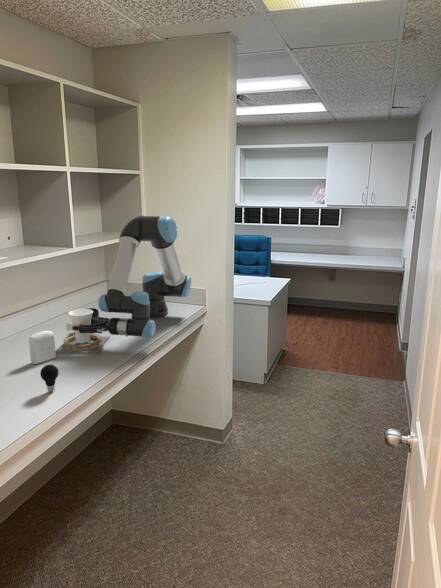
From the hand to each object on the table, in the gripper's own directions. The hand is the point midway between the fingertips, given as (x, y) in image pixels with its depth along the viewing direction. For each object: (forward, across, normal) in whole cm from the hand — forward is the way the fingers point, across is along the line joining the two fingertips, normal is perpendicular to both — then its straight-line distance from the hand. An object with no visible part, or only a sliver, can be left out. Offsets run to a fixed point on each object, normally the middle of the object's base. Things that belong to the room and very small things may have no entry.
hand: (72, 323), depth 198 cm
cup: (-5, 0, -8) cm, 9 cm away
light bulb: (-15, -44, -10) cm, 48 cm away
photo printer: (+3, -19, -10) cm, 22 cm away
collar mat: (-5, 0, -10) cm, 11 cm away
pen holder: (+2, +19, -10) cm, 22 cm away
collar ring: (-5, 0, -10) cm, 11 cm away
